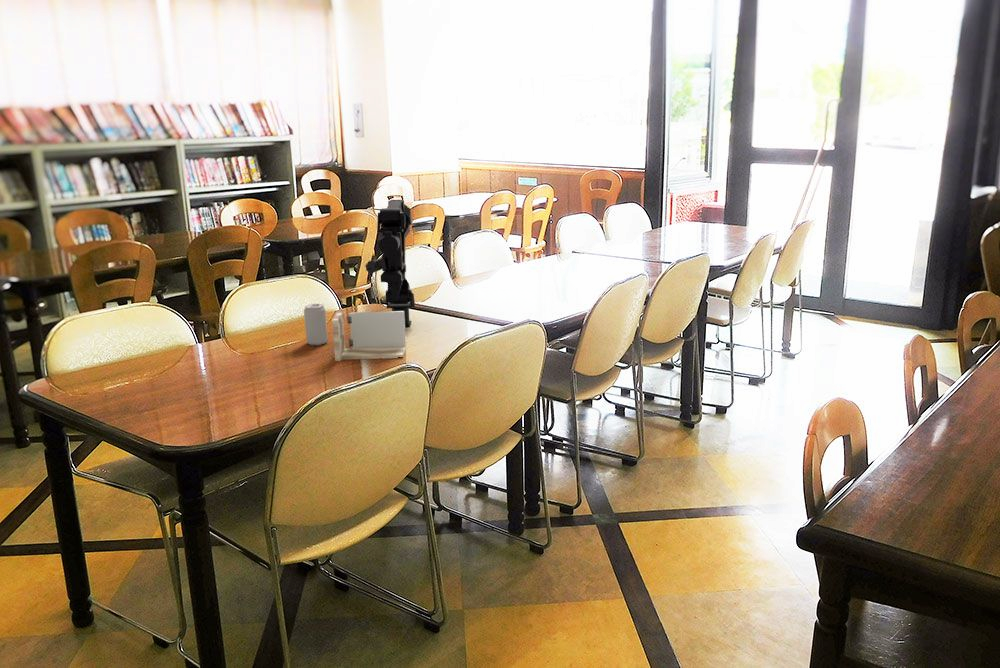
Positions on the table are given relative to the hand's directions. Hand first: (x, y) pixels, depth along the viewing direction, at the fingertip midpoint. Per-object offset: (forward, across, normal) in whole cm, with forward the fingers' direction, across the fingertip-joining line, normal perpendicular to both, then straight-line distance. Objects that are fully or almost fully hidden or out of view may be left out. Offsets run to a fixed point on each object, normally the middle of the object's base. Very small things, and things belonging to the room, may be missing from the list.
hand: (395, 299), depth 250 cm
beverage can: (+12, +6, -24) cm, 28 cm away
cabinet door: (+12, +15, -4) cm, 19 cm away
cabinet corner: (+12, +21, -6) cm, 24 cm away
